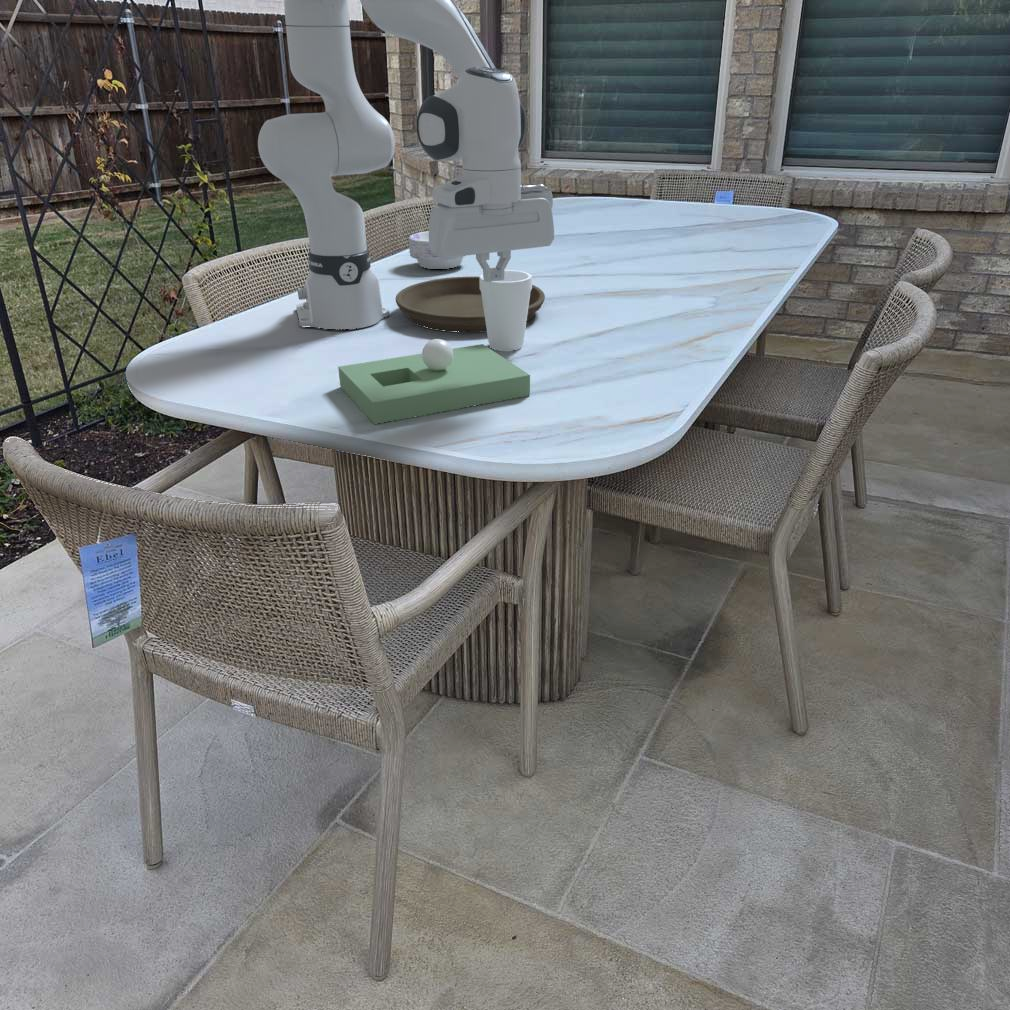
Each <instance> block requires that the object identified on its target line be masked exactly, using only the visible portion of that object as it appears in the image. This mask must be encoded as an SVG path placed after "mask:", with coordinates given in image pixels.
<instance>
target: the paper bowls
mask: <svg viewBox="0 0 1010 1010" xmlns="http://www.w3.org/2000/svg"><path fill="white" fill-rule="evenodd" d="M408 246H409V256H410V258H413V259H416V260H417V263H418V265H419V266H420V267H421V268H422V267H424V268H423V269H425V268H428V269H427V270H429V269H447V270H450V269H449V268H453V269H455V268H454V267H456V268H458V267H460V265H461V264H462V261H463V259H464V257H465V256H457V257H449V258H440V257H437V256H436V255H434V254H433V253H432V252H431V250H430V248H429V230H427V231H421V232H420V231H419V232H416V233H413V234H410V235H409V237H408ZM457 266H458V267H457Z"/></svg>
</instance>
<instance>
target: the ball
mask: <svg viewBox="0 0 1010 1010" xmlns="http://www.w3.org/2000/svg"><path fill="white" fill-rule="evenodd" d="M452 349H453V347H452V346H451V345H450V343H449V342H447V341H446V340H444V339H441V338H434V339H431V340H429V341H428V342H427V343H425V345H424V346H423V348H422V351H421V354H422V359H423V361H424V363H425V365H426V366H427V367H428V368H430V369H432V370H435V371H440V370H444V369H446V368H447V367H448V366H449V365H450V364H451V362H452V360H453V350H452Z"/></svg>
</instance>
